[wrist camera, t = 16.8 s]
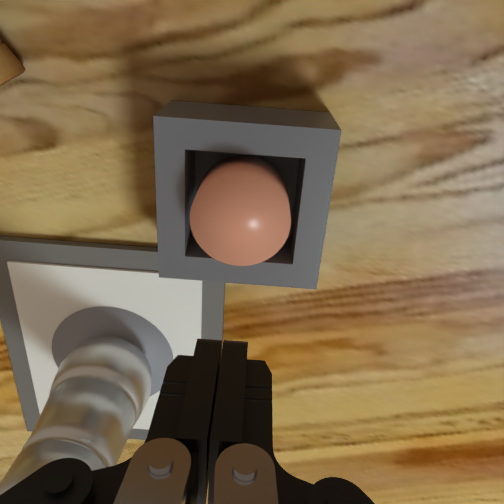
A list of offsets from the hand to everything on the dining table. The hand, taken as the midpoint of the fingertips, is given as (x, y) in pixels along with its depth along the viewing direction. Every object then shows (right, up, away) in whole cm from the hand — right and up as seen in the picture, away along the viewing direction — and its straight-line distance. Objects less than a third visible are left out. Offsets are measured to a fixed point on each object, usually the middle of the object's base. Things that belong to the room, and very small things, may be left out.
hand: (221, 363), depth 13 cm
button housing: (+1, +8, +14) cm, 16 cm away
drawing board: (-9, -4, +21) cm, 23 cm away
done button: (0, +6, +11) cm, 13 cm away
